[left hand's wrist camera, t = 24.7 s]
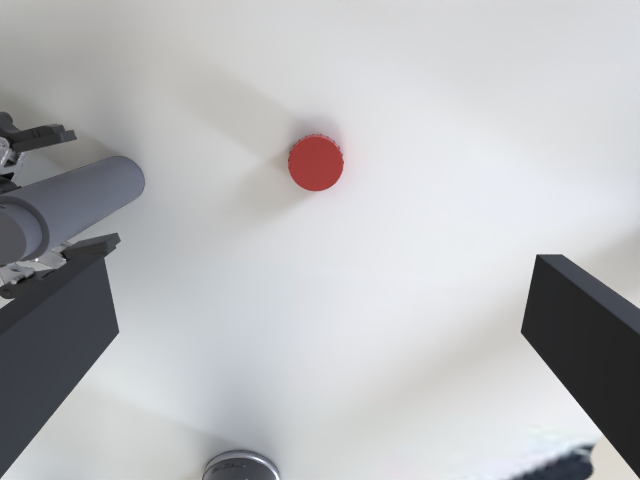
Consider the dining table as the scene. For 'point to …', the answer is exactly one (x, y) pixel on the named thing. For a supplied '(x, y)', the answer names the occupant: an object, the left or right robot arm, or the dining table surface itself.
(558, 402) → the dining table surface
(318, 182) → the lid
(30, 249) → the jar
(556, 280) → the left robot arm
